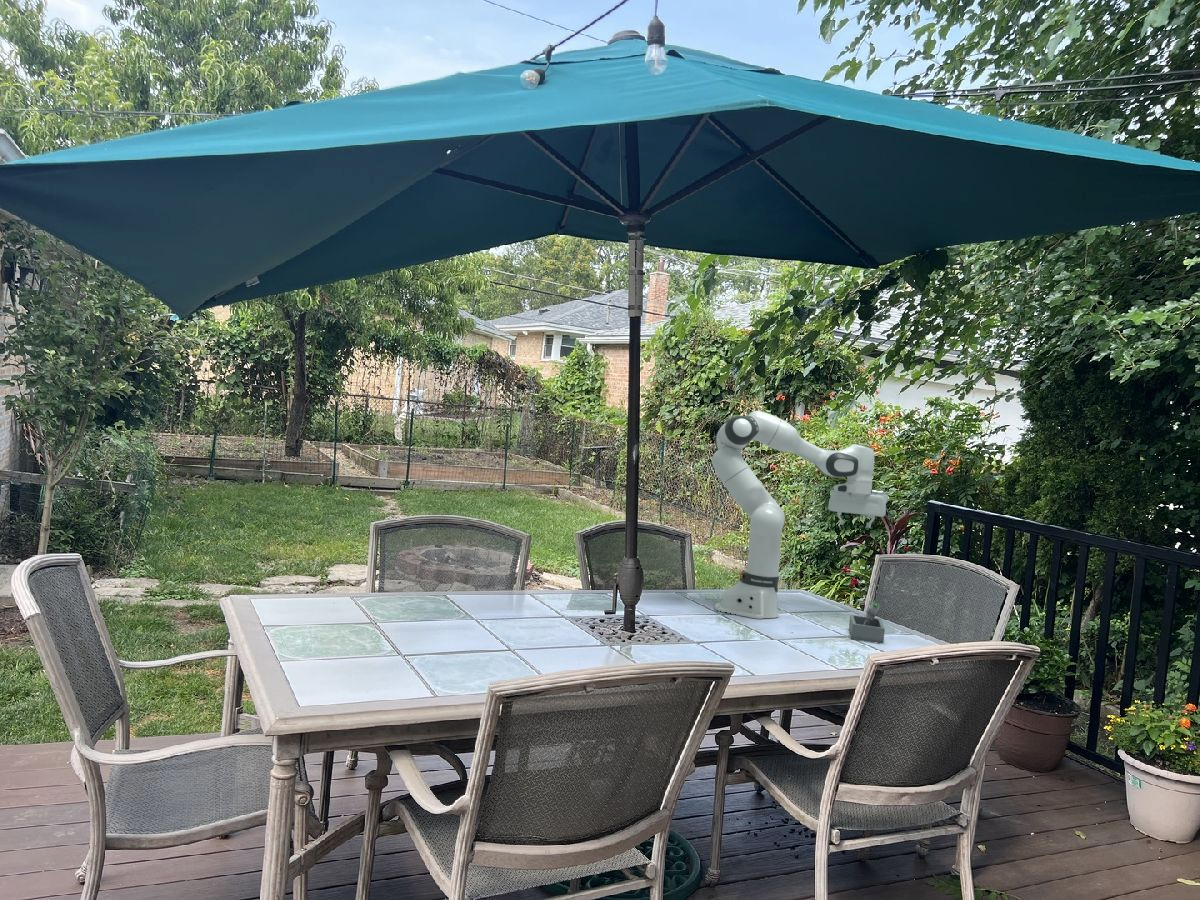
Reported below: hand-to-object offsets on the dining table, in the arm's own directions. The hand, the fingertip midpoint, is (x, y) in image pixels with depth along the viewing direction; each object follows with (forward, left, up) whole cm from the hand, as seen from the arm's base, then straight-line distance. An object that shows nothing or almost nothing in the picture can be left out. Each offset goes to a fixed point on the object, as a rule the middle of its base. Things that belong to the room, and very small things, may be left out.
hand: (854, 526), depth 310 cm
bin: (+5, -29, -33) cm, 44 cm away
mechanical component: (+4, -28, -32) cm, 43 cm away
